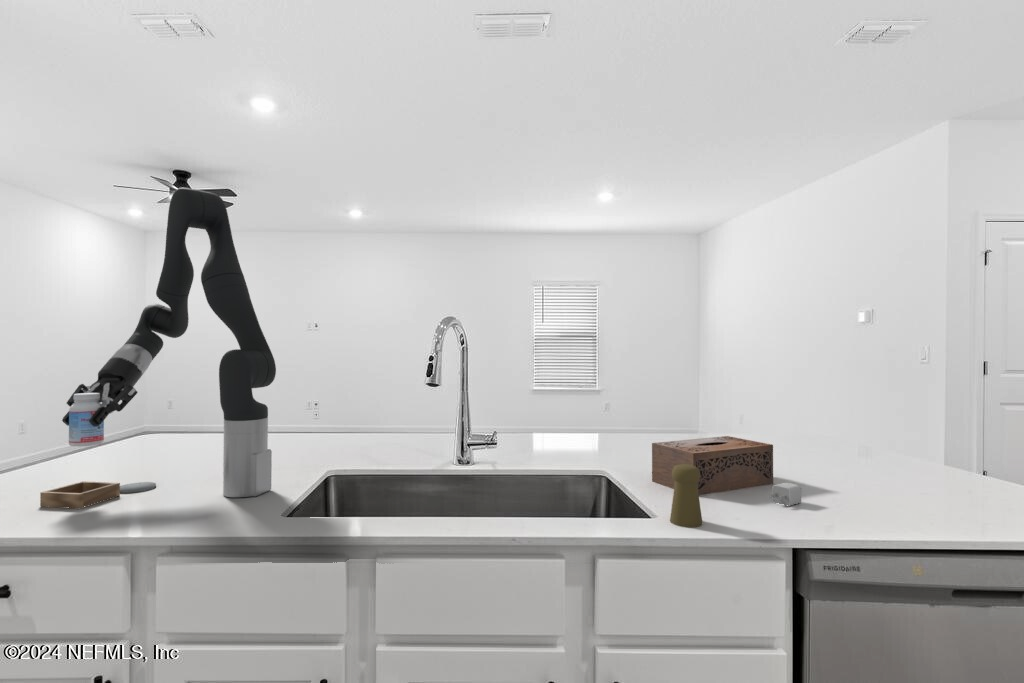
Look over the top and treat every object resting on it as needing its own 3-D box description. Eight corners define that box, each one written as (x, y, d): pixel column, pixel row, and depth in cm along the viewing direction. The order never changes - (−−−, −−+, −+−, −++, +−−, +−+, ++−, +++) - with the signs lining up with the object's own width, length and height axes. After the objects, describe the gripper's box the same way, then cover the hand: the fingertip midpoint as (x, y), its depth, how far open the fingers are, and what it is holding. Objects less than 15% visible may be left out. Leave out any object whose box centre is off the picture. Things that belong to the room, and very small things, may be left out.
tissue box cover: (727, 472, 147) (727, 435, 147) (773, 485, 134) (773, 444, 134) (652, 482, 136) (652, 443, 136) (693, 497, 123) (693, 453, 123)
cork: (665, 517, 107) (665, 462, 107) (694, 516, 108) (694, 461, 108) (677, 527, 101) (676, 469, 101) (708, 526, 102) (707, 468, 102)
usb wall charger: (801, 504, 117) (801, 485, 117) (782, 509, 113) (782, 490, 113) (783, 499, 120) (783, 481, 120) (765, 504, 117) (764, 486, 117)
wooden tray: (119, 496, 122) (119, 482, 122) (79, 508, 113) (79, 494, 113) (83, 494, 124) (83, 481, 124) (40, 506, 114) (40, 492, 114)
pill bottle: (84, 447, 115) (84, 395, 115) (61, 446, 117) (61, 394, 117) (110, 442, 121) (111, 392, 121) (88, 441, 123) (88, 392, 123)
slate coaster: (164, 485, 132) (164, 482, 132) (136, 494, 124) (136, 491, 124) (135, 483, 133) (135, 481, 133) (106, 492, 125) (106, 489, 125)
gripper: (89, 356, 128) (38, 412, 116) (143, 356, 125) (97, 413, 114) (109, 377, 133) (62, 433, 121) (161, 377, 131) (119, 434, 119)
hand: (79, 423), depth 117 cm, fingers closed on pill bottle, 6 cm apart
